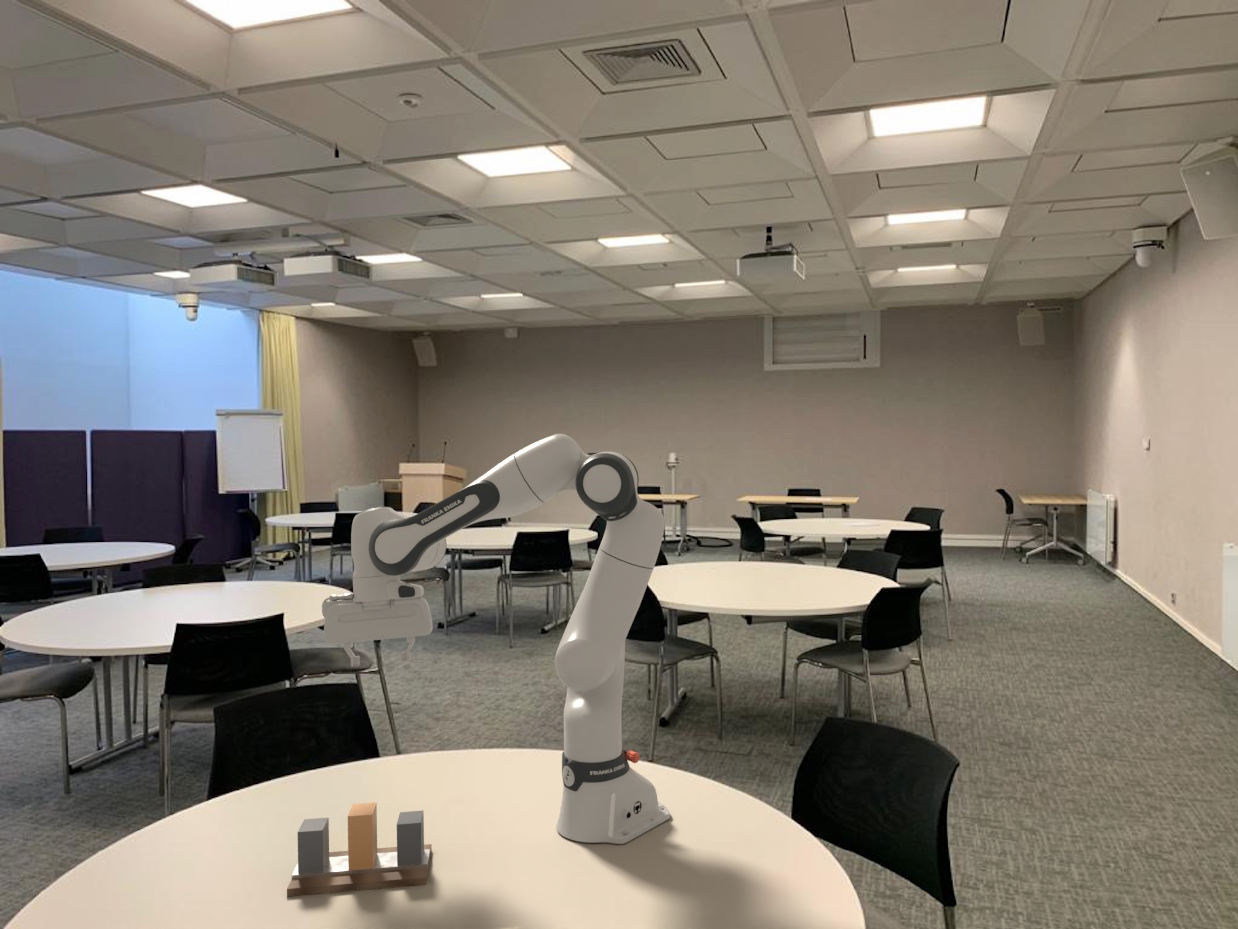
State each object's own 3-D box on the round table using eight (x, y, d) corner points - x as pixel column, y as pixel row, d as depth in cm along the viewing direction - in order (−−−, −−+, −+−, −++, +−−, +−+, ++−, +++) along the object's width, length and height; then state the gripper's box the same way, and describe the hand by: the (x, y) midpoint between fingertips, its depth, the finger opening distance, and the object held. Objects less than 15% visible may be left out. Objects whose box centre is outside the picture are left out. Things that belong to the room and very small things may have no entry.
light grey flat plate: (430, 852, 147) (430, 849, 147) (427, 867, 142) (427, 864, 142) (299, 863, 144) (299, 859, 144) (291, 879, 138) (291, 875, 138)
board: (431, 850, 150) (431, 844, 150) (426, 884, 138) (425, 877, 138) (303, 861, 147) (303, 854, 147) (286, 896, 135) (286, 889, 135)
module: (377, 854, 145) (376, 802, 145) (373, 868, 141) (372, 814, 140) (353, 855, 145) (352, 804, 145) (348, 870, 140) (347, 816, 140)
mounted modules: (424, 850, 147) (423, 810, 147) (421, 864, 142) (420, 822, 142) (305, 859, 144) (304, 819, 144) (298, 874, 139) (297, 832, 139)
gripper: (318, 596, 158) (321, 671, 157) (428, 587, 161) (433, 660, 160) (324, 595, 164) (327, 666, 163) (431, 586, 167) (435, 656, 166)
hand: (380, 663), depth 161 cm, fingers open, 8 cm apart
